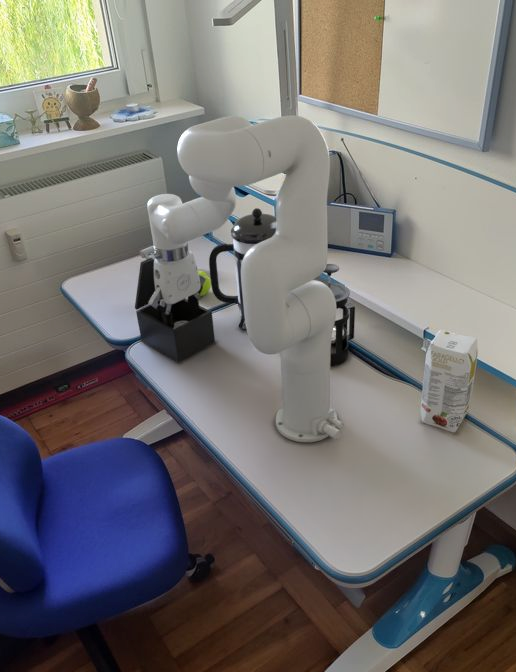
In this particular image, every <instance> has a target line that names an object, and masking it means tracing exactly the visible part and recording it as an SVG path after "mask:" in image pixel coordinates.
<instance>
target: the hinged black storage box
mask: <svg viewBox="0 0 516 672" xmlns="http://www.w3.org/2000/svg"><path fill="white" fill-rule="evenodd" d="M160 301H161V299H159V300H158V304H159V305H160ZM165 307H166V303H165ZM199 311H200V314H199V315H196V314H194V313H192V312H190V311H189V305H188V298H185V299H183V300H181V301H179V302H177V303H175V304H172V306H171V310H170V312H171V313H172V314H173V320H174V323H176V322H178V321H189V322H187V323H185V324H183V325H181V326H179V327H177V328H176V329H173V328H171V327H169V326H168V325H166V324H164V323H163V318H162V312H161V311H159V310H157V309H155V308H154V307H152V306H150V305H149V304H148V305H146V306H144V307H142V308H139V309H137V310H136V311H135V313H136V318H137V323H138V329H139V336H140V341H141V342H142V343H144V344H146V345H147V346H149V347H151V348H152V349H154V350H156V351H157V352H159V353H161V354H162V355H164V356H166V357H167V358H169V359H171V360H172V361H174V362H175V363H177V364H179V363H182V362H183V361H185V360H187V359H189V358H190V357H192V356H194V355H195V354H196V355H197V354H198V353H199V352H201V351H202V350H204V349H206V348H208V347H210V346H211V345H213V344H215V343H216V339H215V338H216V337H215V329H214V319H213V311H211V310H210V309H208V308H205V307H204V306H201V305H199Z"/></svg>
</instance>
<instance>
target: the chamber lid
mask: <svg viewBox="0 0 516 672" xmlns="http://www.w3.org/2000/svg"><path fill="white" fill-rule="evenodd" d="M153 253H154V244H153V245H150V246H148V247H146V248H144V249H141V250H140V251H139V255H140V257H141V258H142V259H145V260H142V261H140V265H139V273H138V279H137V288H136V293H135V302H134V309H135V310H136V311H137V310H139V309H141V308H143V307H145V306H147V305H149V304H148V302H149V300H150V299H151V297H152V295H153V294H154V292H155V284H154V260H153V259H152V257H151V254H153Z"/></svg>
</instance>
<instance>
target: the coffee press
mask: <svg viewBox="0 0 516 672" xmlns="http://www.w3.org/2000/svg"><path fill="white" fill-rule="evenodd" d="M276 226H277V223H276V215H275V216H274V215H272V214H268V213H263V212H262V210H261V209H260V208H258V207H257V208H254V209H253V210H252V212H251V214H247V215H244V216H242V217H240V218H238V219H237V220H236V221H235V223H233V226H232V227H231V229H230V236H231V238H232V240H233V243H220V244H217V245H215V246H214V247H213V249H212V250H211V252H210V255H209V259H208V267H209V278H210V280H211V292H212V294H213V295H214V297H215V298H216V299H217V300H218V301H220V302H223V303H227V304H236V305H237V307H238V312H239V316H240V321H239V323H238V328H239V329H240V330H241V331H245V330H247V329H246V324H245V316H244V305H243V295H242V284H241V264H242V261H243V258H244V256H245V254H246V252H247V251H248V250H249V249H250V248H251V247H253V246H254V245H256V244H258V243H260V242H262V241H264V240H267V239H269V238H271V237H272V236H273V235H274V234H275V232H276ZM226 252H232V253H233V256H234V264H235V278H236V288H237V295H228V294H224V293H223V292H222V291H221V289H220V283H219V282H220V281H219V272H218V263H217V258H218V256H219V254H221V253H226Z"/></svg>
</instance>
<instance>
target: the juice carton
mask: <svg viewBox="0 0 516 672" xmlns="http://www.w3.org/2000/svg"><path fill="white" fill-rule="evenodd" d="M478 347H479V346H478V337H475V336H469V335H462V334H457V333H455V332H452V331H449V330H447V329H444V328H441V329H440V330H438V331H437V333H436V335H435V337H434V338H433V339H432V340H431V341H430V342H429V345H428V348H427V351H426V354H425V363H424V372H423V383H422V389H421V400H420V416H421V417H420V419H421V422H422V423H424V424H425V425H426V424H427V425H429V426H433V427H436V428H440V429H443V430H444V431H447V432H451V433H456V432H457V430H459V427H460V425H462V422H463V420H464V419H465V417H466V415H467V413H468V412H469V410H470V405H471V400H472V393H473V387H474V381H475V380H474V379H475V374H476V368H477V363H478V362H477V361H478V354H479V349H478Z"/></svg>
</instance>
